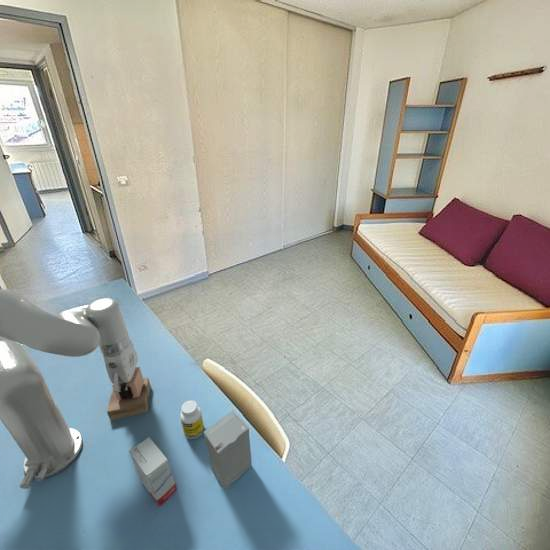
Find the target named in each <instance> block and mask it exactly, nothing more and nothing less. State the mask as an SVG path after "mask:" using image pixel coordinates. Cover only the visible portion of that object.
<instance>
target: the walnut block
mask: <svg viewBox="0 0 550 550" xmlns="http://www.w3.org/2000/svg"><path fill="white" fill-rule="evenodd" d="M143 380H144V383H143V386H142V389H141V393H140V396H139V397H136V398H129V399H121V400H117V397H116V395H115V392H113V388H112V390H111V394H110V398H109V401H108V406H107V410H106V413H107V416H108V418H109V421H115V420H119V419H123V418H127V417H132V416H137V415H142V414H145V413H148V411H149V401H150V395H151V394H150V393H151V383H150V380H149V377H146V378H143Z"/></svg>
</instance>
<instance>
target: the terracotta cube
mask: <svg viewBox="0 0 550 550" xmlns="http://www.w3.org/2000/svg"><path fill="white" fill-rule="evenodd" d="M143 379H144V377H143V374H142V371H141V367H140V366H136V368H135V371H134V374H133V376H132V379H131V380H130V382H128V387H130V388H131V391H132V394H133V398H136V397H139V396H140V393H141V389H142V386H143V383H144V380H143ZM111 386H112V388H113V384H112V383H111ZM121 386H125V385H124V382H122V383H120V387H121ZM115 395H116V397H117V400H121V397H120V395H119V392H115Z"/></svg>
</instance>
